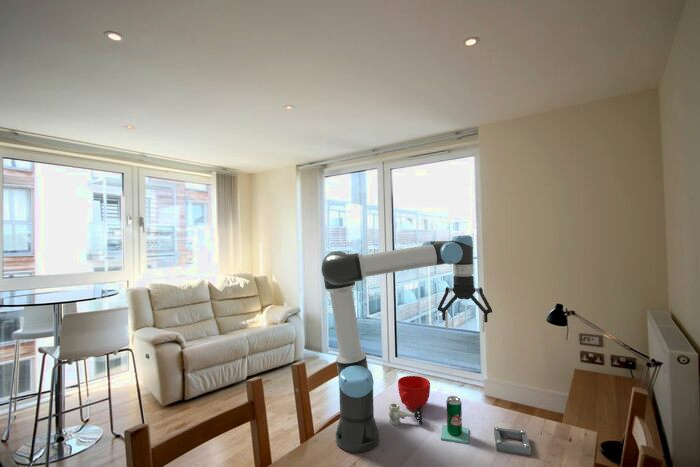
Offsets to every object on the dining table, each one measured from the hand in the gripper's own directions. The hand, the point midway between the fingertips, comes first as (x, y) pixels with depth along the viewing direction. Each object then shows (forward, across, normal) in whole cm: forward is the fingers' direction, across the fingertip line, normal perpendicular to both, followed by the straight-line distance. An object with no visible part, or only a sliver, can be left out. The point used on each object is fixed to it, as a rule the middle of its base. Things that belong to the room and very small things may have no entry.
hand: (464, 329), depth 139 cm
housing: (+33, +14, -17) cm, 39 cm away
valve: (+33, -22, -13) cm, 42 cm away
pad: (+33, -4, -16) cm, 37 cm away
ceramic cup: (+33, -21, -1) cm, 39 cm away
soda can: (+32, -4, -16) cm, 36 cm away
